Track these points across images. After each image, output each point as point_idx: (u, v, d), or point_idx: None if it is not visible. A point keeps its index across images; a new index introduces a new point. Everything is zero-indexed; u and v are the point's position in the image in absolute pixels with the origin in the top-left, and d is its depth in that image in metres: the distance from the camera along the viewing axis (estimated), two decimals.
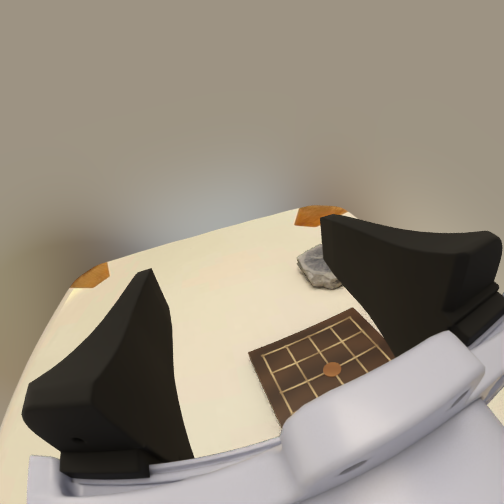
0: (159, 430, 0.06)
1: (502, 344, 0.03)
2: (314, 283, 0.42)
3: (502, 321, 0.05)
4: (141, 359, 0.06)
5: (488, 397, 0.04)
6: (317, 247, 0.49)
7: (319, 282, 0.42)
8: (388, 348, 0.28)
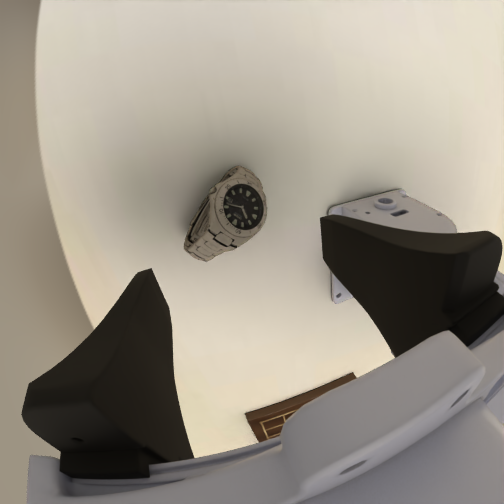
0: (159, 430, 0.06)
1: (502, 344, 0.03)
2: None
3: (502, 321, 0.05)
4: (141, 359, 0.06)
5: (488, 397, 0.04)
6: None
7: None
8: (260, 436, 0.33)
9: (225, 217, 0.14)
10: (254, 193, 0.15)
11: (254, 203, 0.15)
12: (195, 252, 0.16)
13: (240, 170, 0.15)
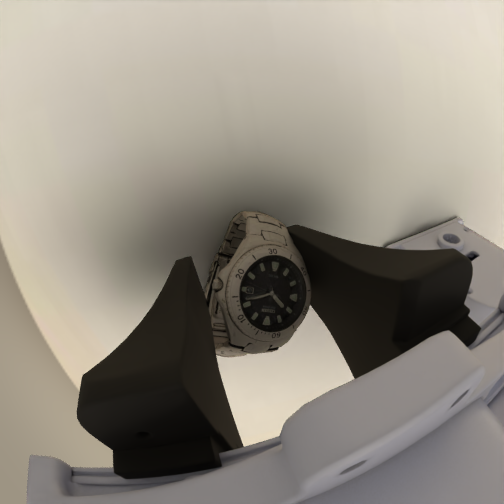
0: (221, 416, 0.06)
1: (502, 344, 0.03)
2: None
3: (502, 321, 0.05)
4: (199, 344, 0.07)
5: (488, 397, 0.04)
6: None
7: None
8: None
9: (250, 325, 0.08)
10: (284, 262, 0.09)
11: (289, 276, 0.09)
12: (220, 355, 0.11)
13: (251, 226, 0.10)
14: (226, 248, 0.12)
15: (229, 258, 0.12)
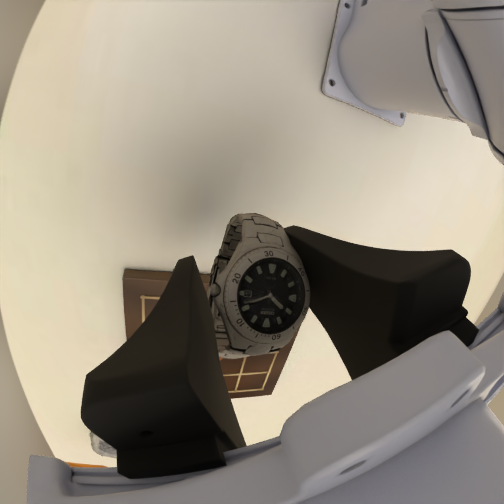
0: (225, 416, 0.06)
1: (502, 344, 0.03)
2: None
3: (502, 321, 0.05)
4: (202, 343, 0.07)
5: (488, 397, 0.04)
6: None
7: None
8: None
9: (250, 328, 0.08)
10: (281, 263, 0.09)
11: (287, 277, 0.09)
12: (224, 357, 0.11)
13: (247, 229, 0.10)
14: (225, 251, 0.12)
15: (228, 260, 0.12)
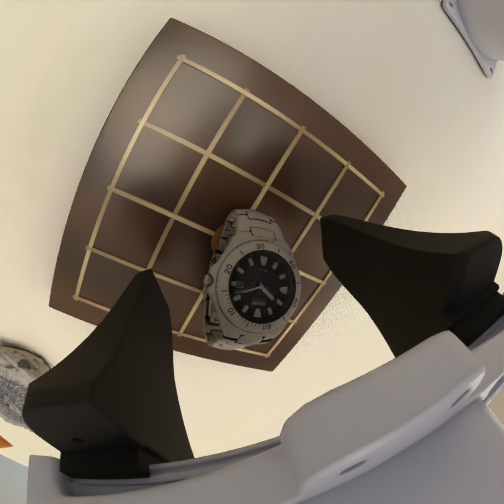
0: (159, 430, 0.06)
1: (502, 344, 0.03)
2: None
3: (502, 321, 0.05)
4: (141, 360, 0.06)
5: (488, 397, 0.04)
6: (13, 422, 0.14)
7: None
8: (104, 153, 0.10)
9: (240, 317, 0.09)
10: (273, 256, 0.10)
11: (279, 270, 0.10)
12: (220, 348, 0.11)
13: (240, 223, 0.10)
14: (222, 245, 0.13)
15: None
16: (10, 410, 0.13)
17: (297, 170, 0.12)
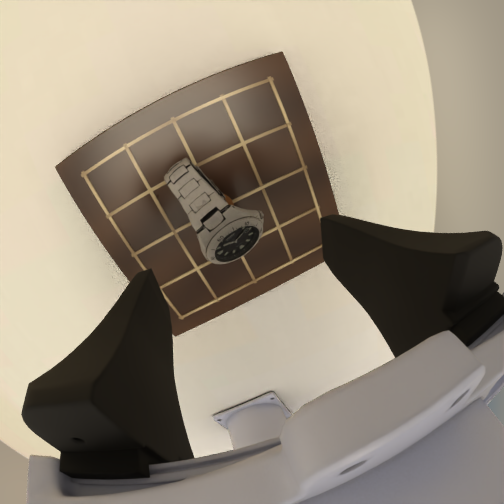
0: (159, 430, 0.06)
1: (502, 344, 0.03)
2: None
3: (502, 321, 0.05)
4: (141, 360, 0.06)
5: (488, 397, 0.04)
6: None
7: None
8: (321, 178, 0.18)
9: (240, 227, 0.12)
10: (239, 252, 0.14)
11: (229, 252, 0.14)
12: (188, 175, 0.12)
13: None
14: None
15: None
16: None
17: (233, 268, 0.19)
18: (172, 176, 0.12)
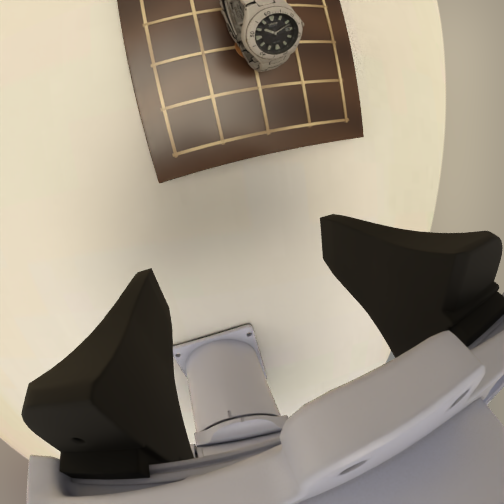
0: (159, 430, 0.06)
1: (502, 344, 0.03)
2: None
3: (502, 321, 0.05)
4: (141, 359, 0.06)
5: (488, 397, 0.04)
6: None
7: None
8: (346, 57, 0.15)
9: (286, 13, 0.09)
10: (274, 51, 0.11)
11: (264, 46, 0.11)
12: None
13: (287, 58, 0.13)
14: None
15: None
16: None
17: (250, 109, 0.16)
18: None
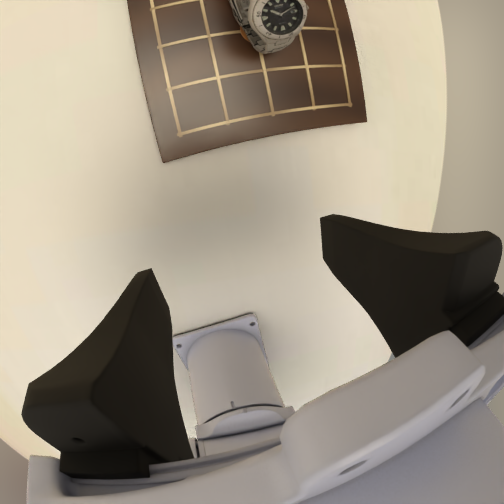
0: (159, 430, 0.06)
1: (502, 344, 0.03)
2: None
3: (502, 321, 0.05)
4: (141, 359, 0.06)
5: (488, 397, 0.04)
6: None
7: None
8: (349, 44, 0.15)
9: None
10: (279, 32, 0.11)
11: (271, 27, 0.11)
12: None
13: (292, 40, 0.12)
14: None
15: None
16: None
17: (255, 91, 0.16)
18: None
